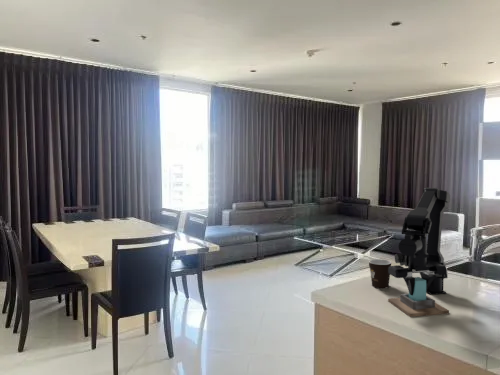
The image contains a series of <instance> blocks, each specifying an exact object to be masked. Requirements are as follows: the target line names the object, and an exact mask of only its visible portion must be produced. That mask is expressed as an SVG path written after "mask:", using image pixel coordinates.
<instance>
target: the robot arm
mask: <svg viewBox="0 0 500 375" xmlns="http://www.w3.org/2000/svg"><path fill="white" fill-rule="evenodd" d="M450 202H451V195H450V193H449V192H448V191H447V190H442V189H440V188H437V187H426V188H425V187H424V188H423V191H422V196H421V197H420V200H419V202H418V203H417V205H416V207H415V208H414V209H411V210H410V211H409V212H408V214H407V215H406V216H405V218H404V221H403V224H402V229H401V235H404V238H402V239H401V240H400V241H399V243H398V250H399V252H400V253H396V254H394V262H395V263H396V264H399V265H391V266H390V267H389V269H388V274H390V276H392V277H394V278H395V279H403V281H404V282H405V284H406V285H405V286H406V287H407V290H408V294H409V293H410V295H413V292H414V283H415V278H414V277H415V276H413V274H419V276H420V278H422V279H424V280H426V294H427V293H428V294H429V295H441V294H442V295H443V294H447V291H446V290H444V280H445V279H448V278H449V277H448V275H449V274H448V268H447V266H446V263H445V258H444V256H443V254H442V253H441V242H442V241H441V240H442V228H443V227H442V225H443V216H444V215H443V214H444V213H445V212H446V210H448V207H449V203H450ZM404 266H405V267H404Z"/></svg>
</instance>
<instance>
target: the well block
mask: <svg viewBox="0 0 500 375" xmlns="http://www.w3.org/2000/svg"><path fill="white" fill-rule="evenodd" d="M399 296H400V297H394V298H387V302H388V303H389V304H391V306H394V307H395V308H397V309H398V310H399V311H401V312H402V313H404V314H405V315H406V316H408V317H410V318H411V317H413V318H414V317H421V316H422V317H424V316H434V315H435V316H436V315H445V314H447V315H449V314H450V310H449V309H447V308H445V307H444V306H443V305H441V304H439V303H437V302H436V300H435V299H433V298H432V297H430V296H428V295H426V300H421V301H413V300H412V299H410V298H409V293H400V295H399Z"/></svg>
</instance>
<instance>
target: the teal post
mask: <svg viewBox="0 0 500 375" xmlns="http://www.w3.org/2000/svg"><path fill="white" fill-rule="evenodd" d="M413 277H414V278H415V283H414V292H413V295H410V293H409V292H408V294H409V298H410V299H412V300H413V301H421V300H426V296H427V292H426V280H424V279H422V278H421V276H413Z"/></svg>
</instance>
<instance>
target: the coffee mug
mask: <svg viewBox="0 0 500 375" xmlns="http://www.w3.org/2000/svg"><path fill="white" fill-rule="evenodd" d="M390 266H392V261H391V260H387V259H382V258H381V259H380V258H375V259H370V260H369V261H368V267H369V272H370V278H371V280H370V281H371V286H372V287H373V288H376V289H388V288H389V287H390V286H389V285H390V278H391V275H390V274H388V269H389V267H390Z"/></svg>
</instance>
